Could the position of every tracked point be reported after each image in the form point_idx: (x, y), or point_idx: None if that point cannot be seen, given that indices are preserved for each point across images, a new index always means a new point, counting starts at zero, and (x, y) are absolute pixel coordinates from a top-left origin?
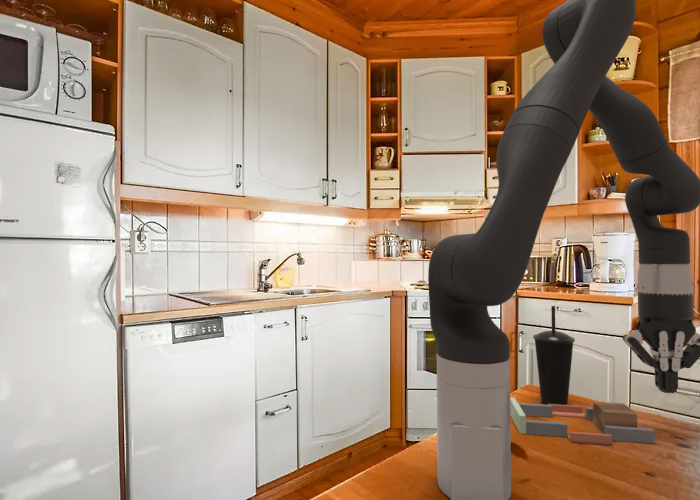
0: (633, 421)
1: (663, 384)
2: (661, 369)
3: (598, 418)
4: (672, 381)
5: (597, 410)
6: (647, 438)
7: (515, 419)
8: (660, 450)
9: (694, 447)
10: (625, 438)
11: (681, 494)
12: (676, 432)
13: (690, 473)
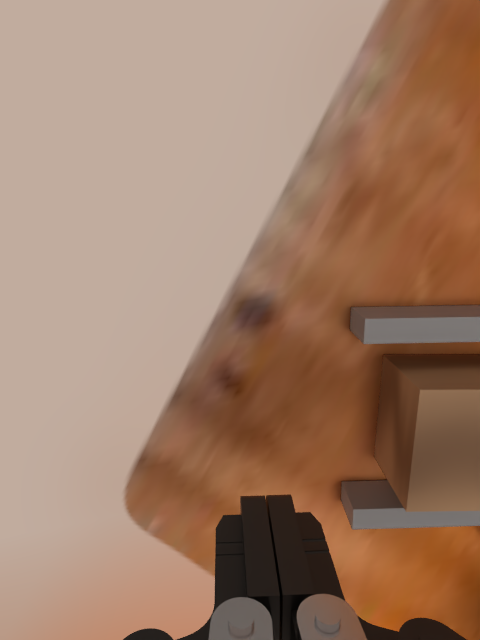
0: (419, 376)
1: (300, 532)
2: (345, 605)
3: None
4: (258, 540)
5: None
6: (381, 310)
7: None
8: (361, 250)
9: (221, 303)
10: (456, 307)
11: None
12: (213, 426)
13: (362, 67)
